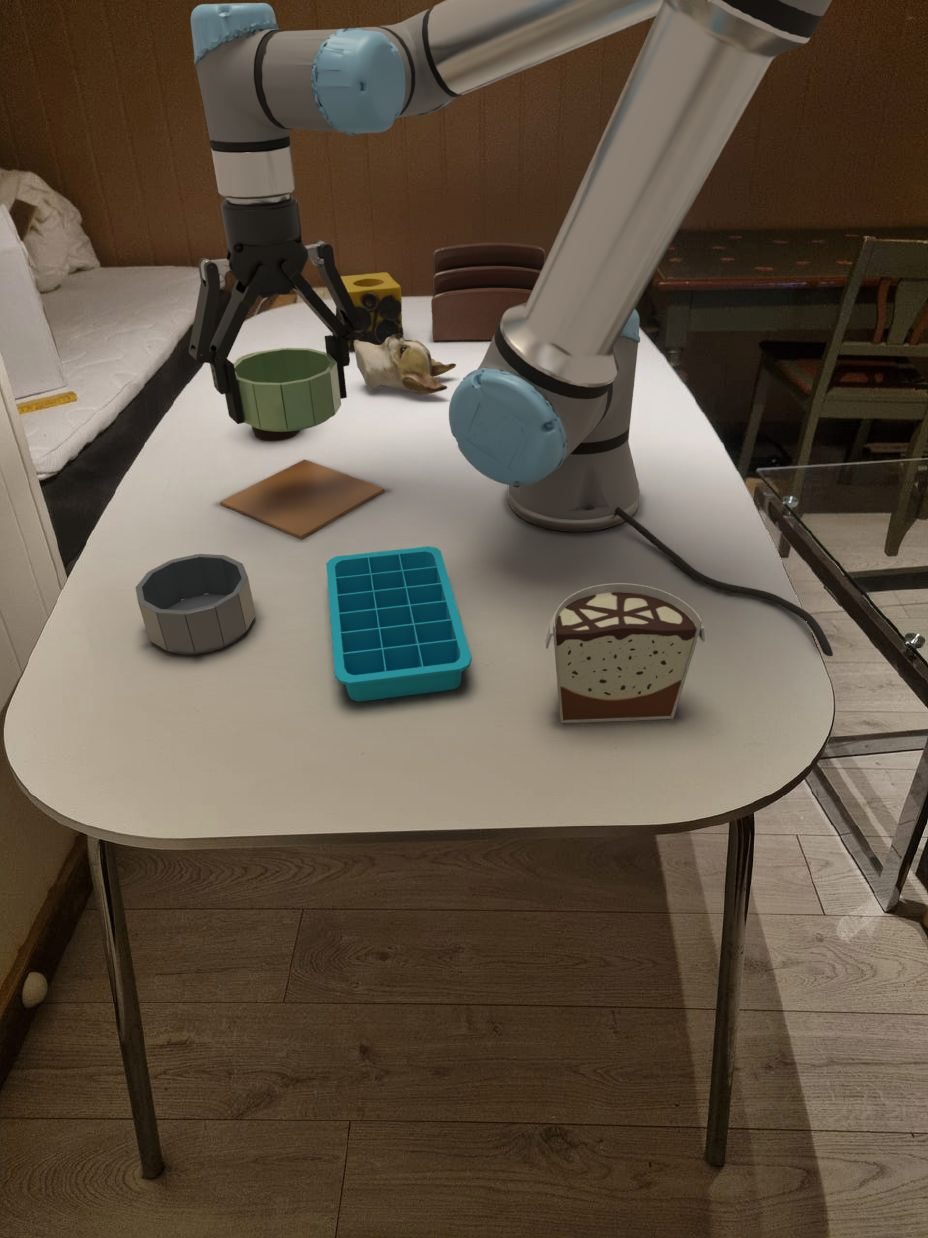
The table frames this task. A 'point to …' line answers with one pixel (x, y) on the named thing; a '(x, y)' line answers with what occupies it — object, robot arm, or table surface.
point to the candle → (374, 307)
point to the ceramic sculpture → (400, 365)
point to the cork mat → (302, 498)
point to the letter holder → (480, 287)
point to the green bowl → (288, 388)
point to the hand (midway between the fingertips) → (289, 406)
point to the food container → (622, 652)
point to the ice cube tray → (395, 624)
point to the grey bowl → (196, 603)
